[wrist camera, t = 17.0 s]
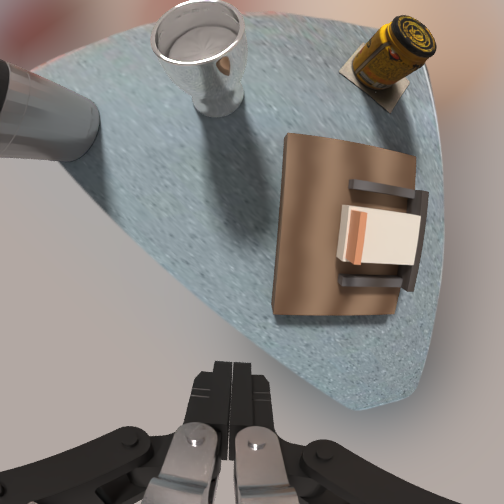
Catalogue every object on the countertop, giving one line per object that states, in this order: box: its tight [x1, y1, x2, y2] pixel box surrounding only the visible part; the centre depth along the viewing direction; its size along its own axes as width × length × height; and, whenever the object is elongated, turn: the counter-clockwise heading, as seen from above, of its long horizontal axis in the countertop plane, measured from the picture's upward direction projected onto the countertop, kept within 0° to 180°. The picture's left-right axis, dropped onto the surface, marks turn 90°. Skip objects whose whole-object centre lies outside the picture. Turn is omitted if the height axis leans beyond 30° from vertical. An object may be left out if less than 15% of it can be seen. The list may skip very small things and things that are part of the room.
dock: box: [271, 133, 429, 315], centre depth 29 cm, size 16×20×6 cm
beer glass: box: [150, 0, 248, 118], centre depth 20 cm, size 7×7×15 cm
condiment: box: [339, 15, 436, 113], centre depth 21 cm, size 7×8×12 cm
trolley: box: [336, 205, 421, 265], centre depth 26 cm, size 9×6×6 cm, turn 86°
